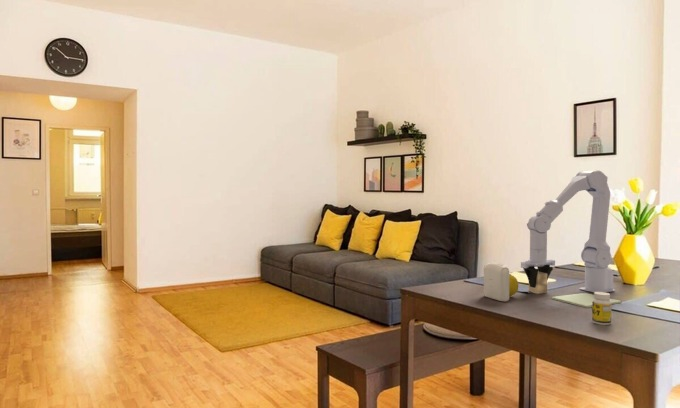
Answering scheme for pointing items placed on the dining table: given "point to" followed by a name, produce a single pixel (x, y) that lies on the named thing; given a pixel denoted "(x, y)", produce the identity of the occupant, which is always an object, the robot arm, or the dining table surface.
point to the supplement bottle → (601, 308)
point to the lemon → (512, 285)
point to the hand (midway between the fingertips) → (537, 286)
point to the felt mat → (580, 299)
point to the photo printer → (496, 281)
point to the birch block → (540, 284)
